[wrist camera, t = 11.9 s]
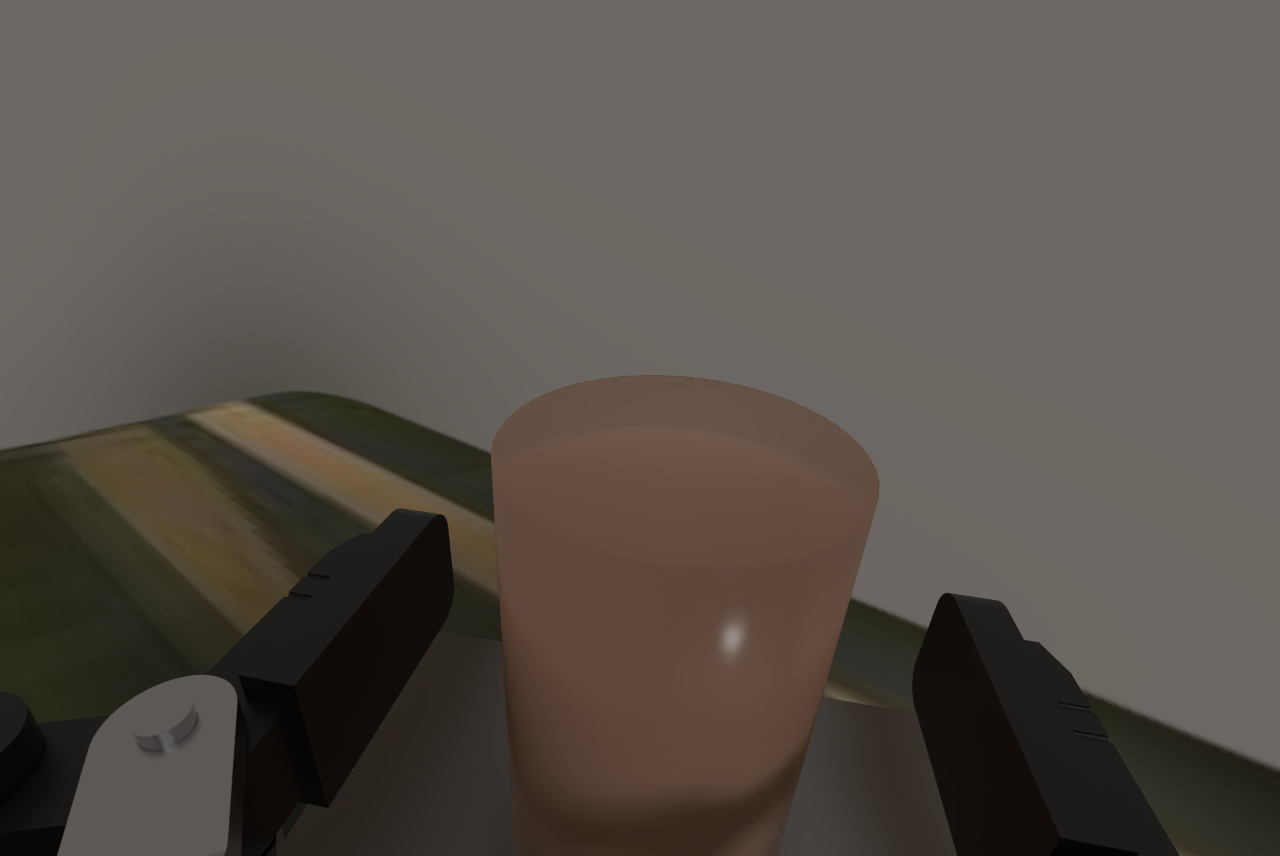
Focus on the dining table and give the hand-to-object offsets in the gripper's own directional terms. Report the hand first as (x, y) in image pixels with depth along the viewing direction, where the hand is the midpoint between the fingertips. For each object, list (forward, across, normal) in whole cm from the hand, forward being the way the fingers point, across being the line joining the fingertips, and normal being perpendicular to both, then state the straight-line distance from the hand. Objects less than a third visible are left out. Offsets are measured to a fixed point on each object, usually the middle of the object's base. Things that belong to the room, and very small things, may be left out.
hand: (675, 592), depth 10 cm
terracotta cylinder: (0, 0, +8) cm, 8 cm away
